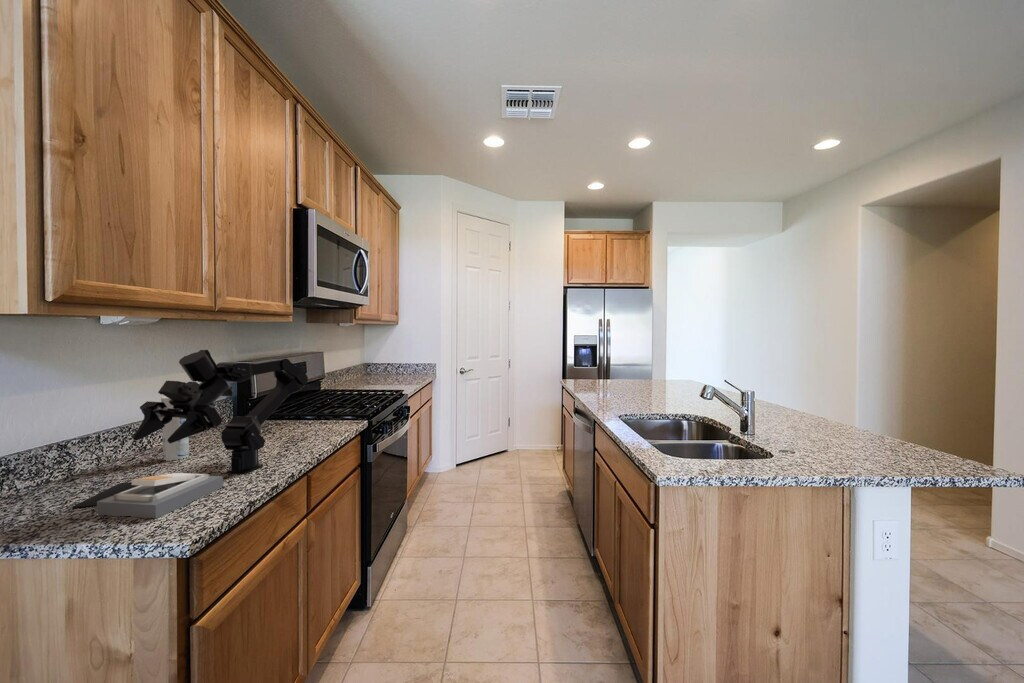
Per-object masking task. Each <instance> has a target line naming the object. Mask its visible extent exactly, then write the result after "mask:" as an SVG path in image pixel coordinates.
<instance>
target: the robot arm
mask: <svg viewBox="0 0 1024 683" xmlns="http://www.w3.org/2000/svg"><path fill="white" fill-rule="evenodd" d="M178 363H179V365H180V367H181V368H182V369H183V370H184V372H185V373H186V375H187V376H188V378H189V379H190V381H188V382H184V381H179V380H166V381H165V382H164V383H163V384H162V386H161V388H160V389H159V390H158V394H160V395H162V396H163V397H165V396H166V397H168V398H170V399H171V400H170V401H169V403H170V404H171V405H173V406H174V407H173V408H168V407H167V406H166V405H165V403H164V402H161V401H149V400H148V401H146V402H144V403H143V404H142V405H141V406H139V409H140V410H141V412H142V414H143V419H142V422H141V424H140V425H139V426H138V428H137V430H136V432H134V435H133V436H132V439H133V440H134V441H140V440H141V439H144V438H145V437H148V436H149V435H152V434H153V433H155V432H157V431H160V430H162V428H163V427H165V424H167V423H169V422H170V421H171V420H172V417H178V418H182V419H186V421H185V422H184V423H183V424H182V425H181V426H180V427H179V428H178V429H177V430H176V431H175V432H174V433H173V434H172V435H171V436H170V437H169V438H168V440H167V441H168V442H169V443H173V442H176V441H178V440H181V439H183V438H186V437H189V438H190V437H191V436H194V435H197V434H200V433H202V432H207V431H210V430H211V429H212V430H214V429H217V428H218V427H219V426H220V425H222V422H223V421H222V420H223V418H222V415H221V414H220V412H219V411H218V410H217V408H216V407H215V405H214V403H215V402H216V401H217V400H218V399H219V398H221V397H232V396H233V395H234V394H233V393H234V392H233V386H229V384H228V383H243V382H245V381H247V380H250V379H251V378H252V377H254V376H257V375H263V374H267V373H272V372H273V377H274V378H275V379H276V380H275V387H274V388H272V390H270V392H268V394H267V395H266V396H265V397H263V399H261V400H260V402H259V403H258V404H257V405H255V406H254V408H252V409H251V411H250V412H248V414H247V415H245V416H234V417H232V419H231V420H230V421H229V422H228V423H226V424H225V425H224V428H223V430H222V431H221V433H220V434H221V436H220V437H221V441H222V442H221V443H223V446H224V448H225V450H226V451H231V457H230V466H231V468H230V469H227V473H233V474H235V473H236V474H248V473H250V472H252V471H255V470H257V469H259V468H262V467H263V466H264V464H263V463H259V450H261V449H262V448H264V447H265V442H266V439H265V438H264V437H263V436H262V435H261V430H262V425H263V424H264V423H265V422H266V420H267V419H268V418H269V417H270V416H271V415H272V414H273V413H274V412H275V411H276V410H277V409H278V408H279V407H280V405H282V403H283V402H284V401H285V400H286V399H287V398H288V397H289V396H290V395H292V394H294V393H297V392H299V391H301V390H302V389H303V388H304V387H306V385H307V384H308V381H309V378H308V375H307V373H306V372H305V371H304V370H303V369H302V368H301V367H299V366H297V365H296V364H294V363H292V361H291V360H290V359H288V358H286V357H274V358H270V359H265V360H257V361H250V362H241V361H240V362H237V361H236V362H235V361H234V362H233V361H231V362H230V361H221V362H218V363H216V362H215V360H214V359H213V356H211V352H210V351H209V349H200V350H199V351H196V352H193V353H192V352H191V353H190V354H187V355H185V356H183V357H181V358H180V359H179V361H178Z"/></svg>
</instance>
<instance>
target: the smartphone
mask: <svg viewBox="0 0 1024 683" xmlns="http://www.w3.org/2000/svg"><path fill="white" fill-rule="evenodd" d="M137 486H140V485H132V481H130V482H119V483H117V484H115V485H113V486H111V487H109V488H107V489H105V490H103V491H101V492H99V493H97V494H95V495H93V496H91V497H89V498H87V499H85V500H83V501H80V502H79V503H77V504H75V505H73V506H72V507H71V508H72V510H77V508H80V509H87V508H86V507H92V508H94V507H93V506H97V501H100V500H103V499H105V498H108V497H111V496H114V495H115V494H118V493H121V492H123V491H126V490H129V489H132V488H134V487H137Z"/></svg>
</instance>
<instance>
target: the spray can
mask: <svg viewBox="0 0 1024 683" xmlns="http://www.w3.org/2000/svg"><path fill="white" fill-rule="evenodd" d="M170 400H171V399H170V398H168V397H166V396H162V397H160V402H164V403H165V405H166V406H167V407H168V408H173V407H174V406H173V405H171V404H170V403H169V401H170ZM185 421H186V419H182V418H178V417H172V420H171V421H170V422H169V423H167V424H165V427H163V428H161V430H162V434H161V435H162V449H163V450H162V452H163V453H162V454H163V455H162V456H163V461H164V460H166V461H165V462H173V461H172V460H176V461H179V460H178V459H181V460H184V459H187V458H189V456H190V454H189V453H190V448H189V447H190V446H189V444H190V441H189V440H190V436H189V437H186V438H183V439H181V440H178V441H176V442H173V443H169V442H168V441H167V440H168V438H169V437H170V436H171V435H172V434H173V433H174V432H175V431H176V430H177V429H178V428H179V427H180V426H181V425H182V424H183V423H184V422H185ZM186 457H187V458H186ZM183 458H184V459H183Z"/></svg>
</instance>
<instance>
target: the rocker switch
mask: <svg viewBox="0 0 1024 683" xmlns="http://www.w3.org/2000/svg"><path fill="white" fill-rule="evenodd" d="M182 473H183V472H172V473H166V474H161V475H151V476H144V477H137V478H134V479H131V482H132V485H141V486H158V485H164V484H169V483H175V482H181V481H186V480H192V479H194V478H195V474H196V473H193V474H182Z"/></svg>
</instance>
